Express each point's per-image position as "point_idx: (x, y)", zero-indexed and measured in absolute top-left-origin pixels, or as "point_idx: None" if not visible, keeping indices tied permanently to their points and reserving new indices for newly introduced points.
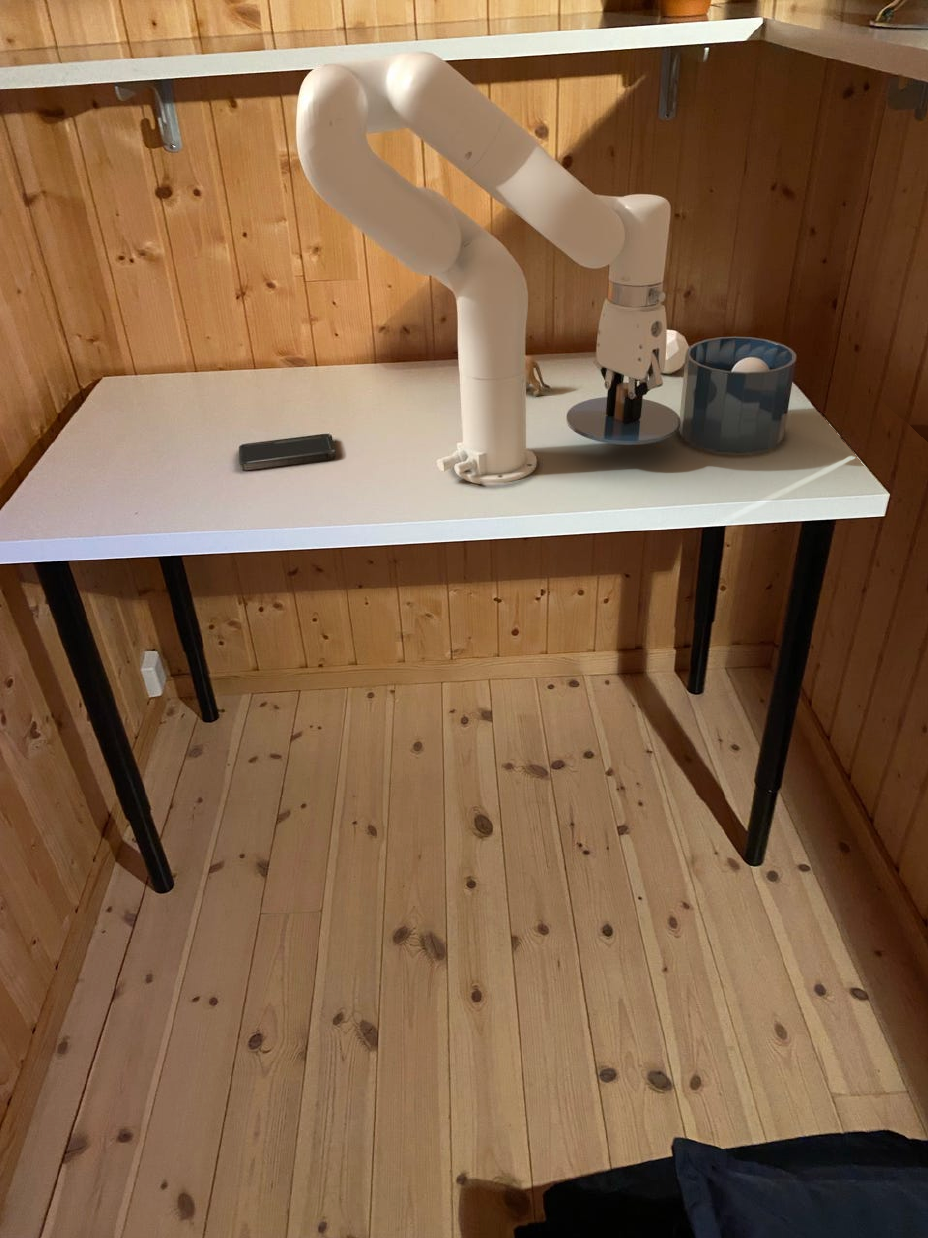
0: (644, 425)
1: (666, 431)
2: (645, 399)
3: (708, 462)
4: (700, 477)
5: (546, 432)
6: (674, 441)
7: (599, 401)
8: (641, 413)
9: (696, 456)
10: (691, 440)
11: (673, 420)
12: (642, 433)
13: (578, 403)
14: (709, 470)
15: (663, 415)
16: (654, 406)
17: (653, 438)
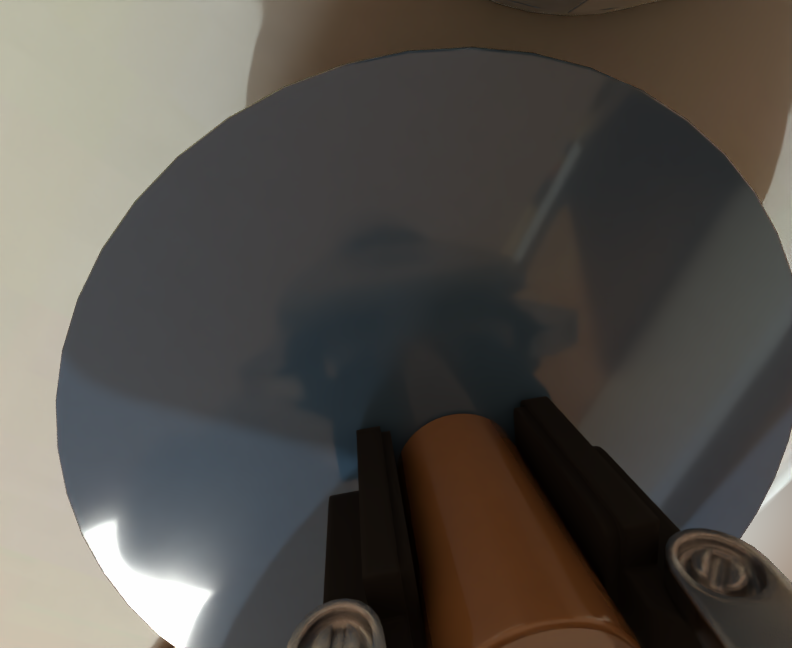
0: (624, 419)
1: (771, 359)
2: (242, 112)
3: (735, 77)
4: (787, 217)
5: (54, 492)
6: (459, 46)
7: (132, 458)
8: (469, 327)
9: (655, 79)
10: (583, 7)
11: (694, 203)
12: (693, 487)
13: (111, 581)
14: (783, 136)
15: (588, 208)
16: (414, 150)
17: (775, 473)
